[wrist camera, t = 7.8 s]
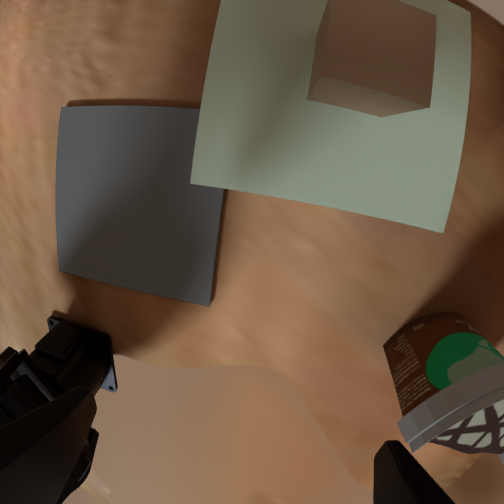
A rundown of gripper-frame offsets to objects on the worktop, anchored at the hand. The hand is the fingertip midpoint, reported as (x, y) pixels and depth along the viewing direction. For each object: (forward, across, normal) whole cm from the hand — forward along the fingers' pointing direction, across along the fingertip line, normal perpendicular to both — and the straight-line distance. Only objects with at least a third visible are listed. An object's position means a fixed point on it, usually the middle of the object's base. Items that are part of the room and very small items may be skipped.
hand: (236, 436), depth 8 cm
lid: (+8, -2, -11) cm, 13 cm away
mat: (+12, +9, -3) cm, 16 cm away
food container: (+13, -15, +3) cm, 20 cm away
